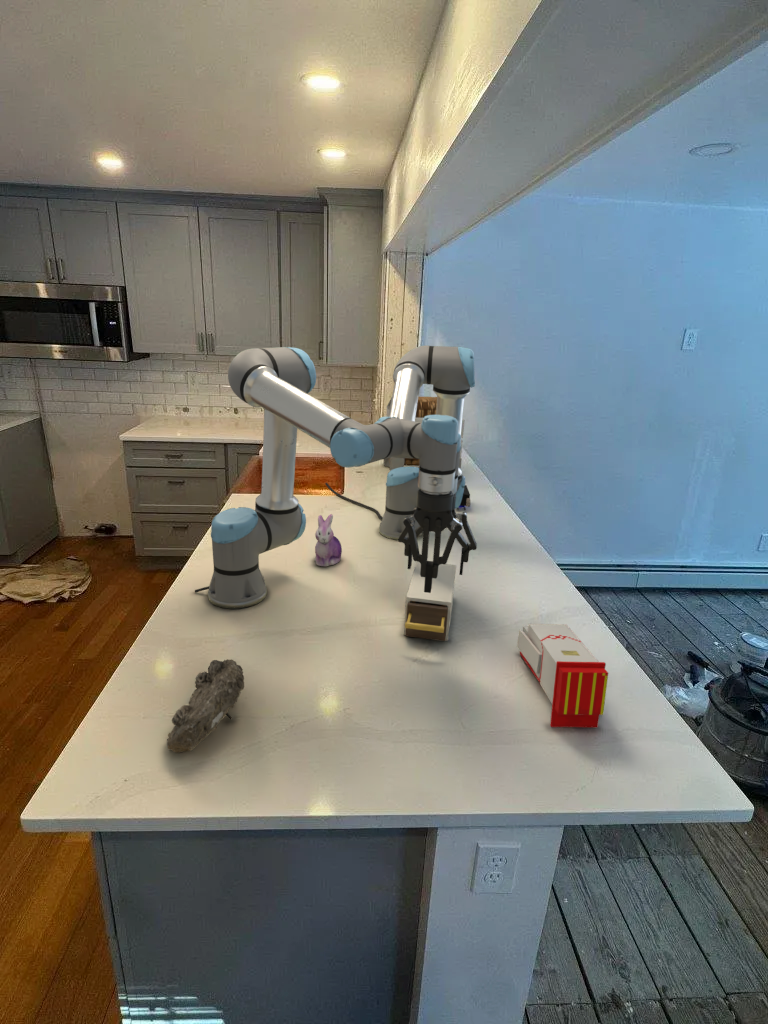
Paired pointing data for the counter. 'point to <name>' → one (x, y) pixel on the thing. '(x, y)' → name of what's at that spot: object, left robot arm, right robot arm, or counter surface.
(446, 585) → the cabinet
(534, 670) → the toy
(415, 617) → the drawer
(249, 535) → the left robot arm
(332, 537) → the figurine
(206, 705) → the fossil
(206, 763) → the counter surface
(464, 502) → the figurine character
